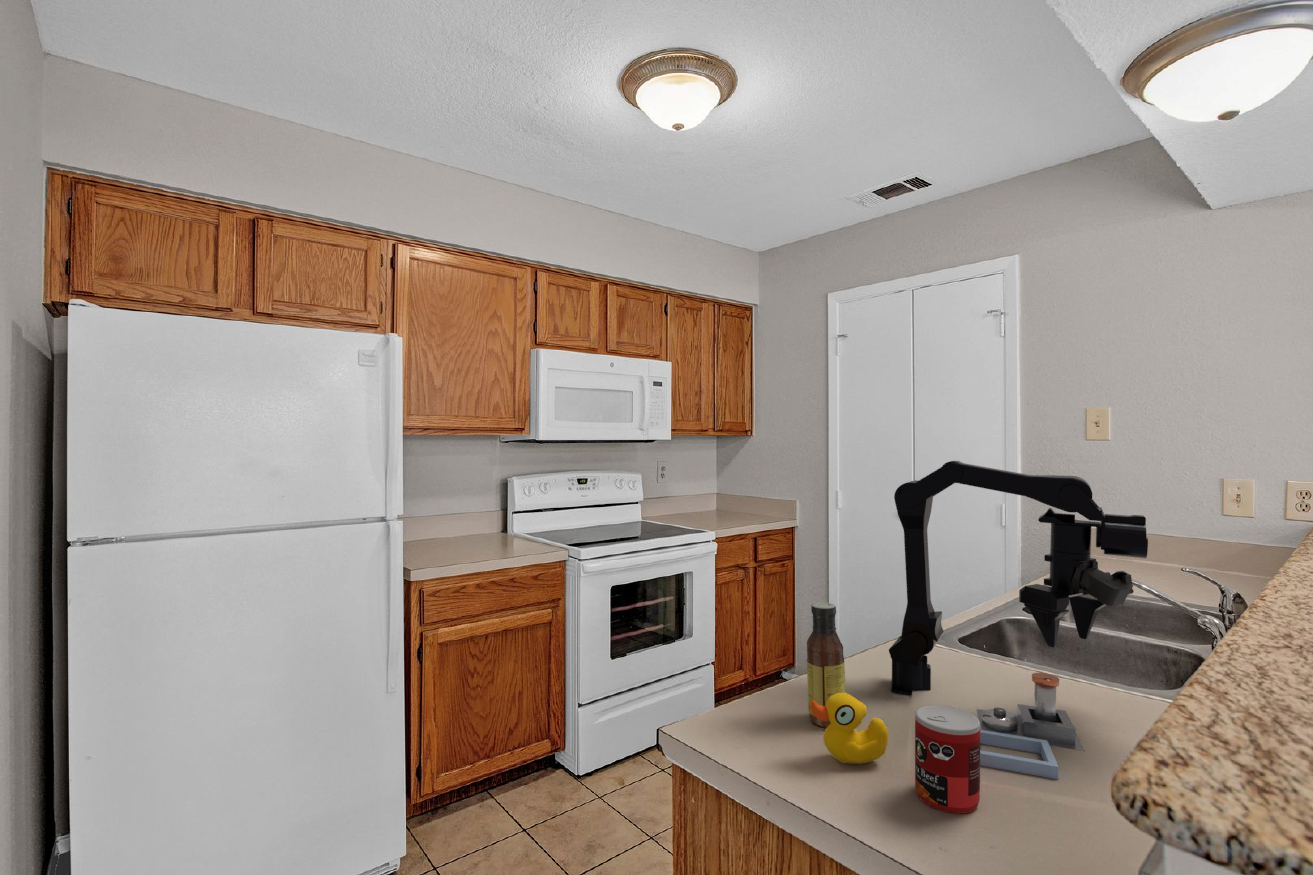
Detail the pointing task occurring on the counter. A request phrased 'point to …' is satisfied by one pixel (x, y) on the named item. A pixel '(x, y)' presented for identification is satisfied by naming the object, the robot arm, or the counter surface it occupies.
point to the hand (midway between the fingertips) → (1067, 642)
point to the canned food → (947, 758)
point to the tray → (1018, 763)
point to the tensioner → (1031, 726)
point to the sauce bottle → (824, 659)
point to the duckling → (850, 730)
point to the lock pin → (1045, 696)
